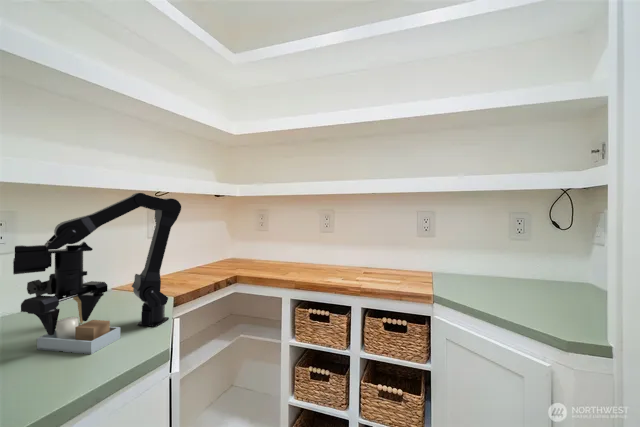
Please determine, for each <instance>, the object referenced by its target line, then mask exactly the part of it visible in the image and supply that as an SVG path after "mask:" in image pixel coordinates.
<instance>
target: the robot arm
mask: <svg viewBox="0 0 640 427" xmlns="http://www.w3.org/2000/svg"><path fill="white" fill-rule="evenodd" d="M140 207H141V208H145V209H147V210H148V209H149V210H152V211H154V219H155V220H154V221H155V227H154V231H153V234H152V238H151V243H150V246H149V248H148V252H147V257H146V259H145V264H144V268H143V270H142V271H141V273H139V274H138V273H134V279H133V280H134V281H133V283H132V284H131V287H132V288H133V289H132V291H133V294H134V295H135V296H136V297H137V298H138V299H139V300H141V302H143V304H142V305H141V316H140V317H141V318H140V320H141V321H139V322H138V323H137V322H136V325H137V326H141V327H143V326H144V327H158V326H159V325H162V324H163V323H165V322H166V321H169V319H170V318H169V317H167V316H165V315H166V314H165V309H166V308H165V306H166V305H167V303H168V301H169V297H168V296H167V295H165V294H164V293H163V292H161V286H162V285H161V284H162V281H161V280H162V279H161V268H162V264H163V260H164V257H165V253H166V249H167V245H168V241H169V237H170V233H171V230H172V227H173V225H174V224H175V223H176V221H177V219H178V218H179V216H180V213H181V211H182V204H181V203H180V201H178V200H177V199H175V198H170V197H169V198H162V197H157V196H153V195H149V194H145V193H143V192H135V193H132V195H130V196H128V197H126V198H124V199H121V200H119V201H117V202H115V203H113V204H111V205H109V206H106V207H103V208H101V209H98V210H97V211H95V212H93V213H90V214H87V215H83V216H79V217H75V218H72V219H68V220H65V221H62V222H60V223H58V224H57V225H56V226H55V227H54V230H53V233H54V234H53V235H52V236H51V237H50V238H49V239H48V240H46V242H45V243H44V244H41V245H37V244H36V245H21V244H20V245H15V246H14V258H13V260H12V261H13V262H12V264H13V265H12V266H13V267H12V268H13V270H12V271H13V272H12V273H13V275H21V274H22V275H23V274H31V273H42V272H46V271H47V270H46V269H49V268H51V267H52V258H53V257H52V255H53V254H54V273H50V274H49V277H48V280H45V281H41V280H40V279H36V280H31V281H28V282H27V285H26V291H27V294H29V295H30V296H31V295H34V294H35V296H33V297H29V298H28V297H27V298H25V299H24V300H23V301H22V302H21V303H20V312H21V313H27V314H28V315H29V314H30V315H35V316H36V317H37V318H38V319H39V320H40V322H41V324H42V326H43V327H44V330H45V331H46V334H48V335H54V332H55V330H56V325H57V321H58V319H59V315H60V308H58V306H59V305H60V303H61V302H64V301H67V300H70V299H73V298H74V297H77V296H78V298H79V299H80V300H81V309H82V321H83V322H88V320H89V318H90V316H91V314H92V312H93V311H94V309H95V307H96V306H97V304H98V303H99V301H100V300H101V298H102V297H103V296H104V294H105V293H106V292H108V284H107V282H105V281H96V280H95V281H93V280H92V281H87V283H83V277H84V276H87V275H88V270H87V271H86V270H84V252H91V251H93V247H91V246H90V245H88V244H87V242H85V241H82V240H84V239H85V238H87V237H88V236H90V235H91V234H92V233H93V232H95V231H96V230H97V229H98V228H100V227H101V226H103V225H105V224H108V223H110V222H112V221H113V220H116V219H118V218H120V217H122V216H124V215H126V214H128V213H130V212H132V211H134V210H136V209H139V208H140ZM81 241H82V242H81ZM80 242H81V243H80ZM77 243H80V244H77ZM64 246H65V248H63V249H62V247H64ZM46 294H47V295H46Z"/></svg>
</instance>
